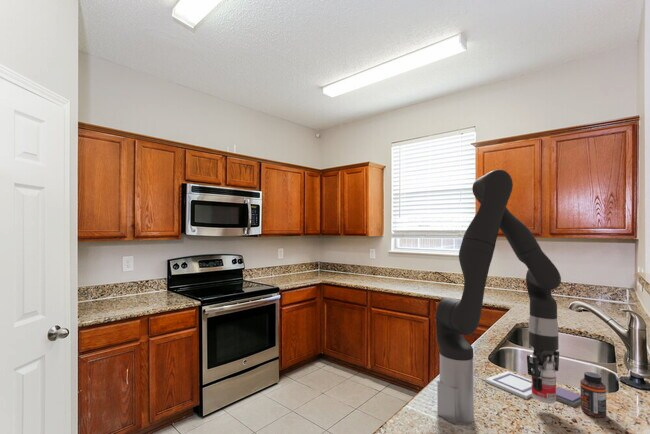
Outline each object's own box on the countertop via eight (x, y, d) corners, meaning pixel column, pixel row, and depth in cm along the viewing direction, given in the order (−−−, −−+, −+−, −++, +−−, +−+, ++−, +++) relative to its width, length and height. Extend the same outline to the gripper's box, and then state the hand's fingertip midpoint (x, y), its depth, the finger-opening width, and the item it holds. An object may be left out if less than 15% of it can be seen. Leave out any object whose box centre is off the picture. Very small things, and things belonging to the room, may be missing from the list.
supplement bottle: (575, 407, 100) (574, 369, 101) (595, 407, 100) (594, 370, 100) (591, 418, 94) (590, 378, 95) (612, 419, 94) (611, 378, 94)
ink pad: (574, 407, 100) (574, 402, 100) (545, 395, 107) (545, 391, 107) (585, 400, 104) (585, 395, 104) (557, 390, 111) (557, 385, 111)
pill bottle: (534, 392, 102) (534, 356, 103) (558, 399, 98) (557, 361, 98) (529, 398, 98) (529, 360, 98) (554, 406, 93) (553, 367, 94)
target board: (526, 399, 104) (526, 395, 104) (485, 381, 116) (485, 378, 116) (548, 389, 112) (547, 385, 112) (507, 373, 124) (507, 370, 124)
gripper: (544, 337, 92) (544, 398, 91) (569, 332, 99) (569, 388, 98) (517, 330, 99) (517, 387, 98) (542, 325, 106) (542, 378, 105)
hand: (543, 387), depth 98 cm, fingers closed on pill bottle, 6 cm apart
